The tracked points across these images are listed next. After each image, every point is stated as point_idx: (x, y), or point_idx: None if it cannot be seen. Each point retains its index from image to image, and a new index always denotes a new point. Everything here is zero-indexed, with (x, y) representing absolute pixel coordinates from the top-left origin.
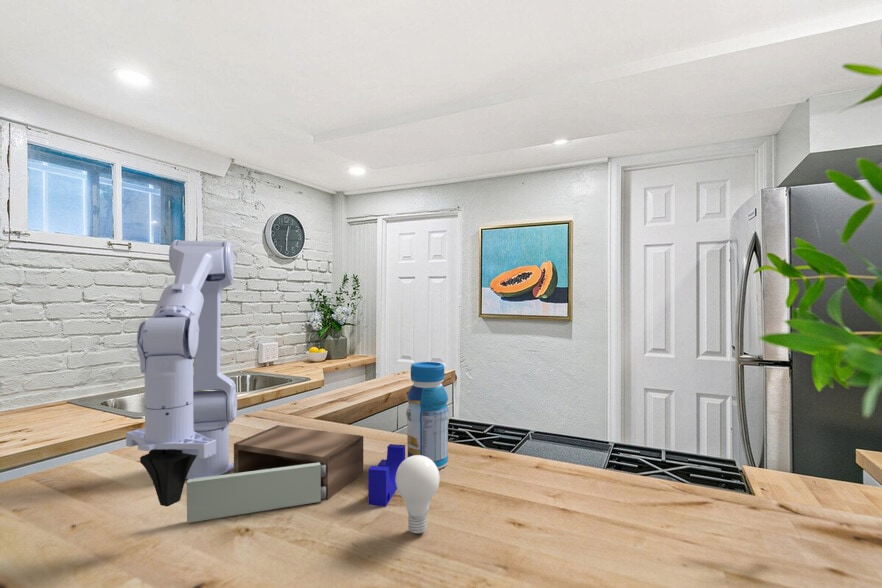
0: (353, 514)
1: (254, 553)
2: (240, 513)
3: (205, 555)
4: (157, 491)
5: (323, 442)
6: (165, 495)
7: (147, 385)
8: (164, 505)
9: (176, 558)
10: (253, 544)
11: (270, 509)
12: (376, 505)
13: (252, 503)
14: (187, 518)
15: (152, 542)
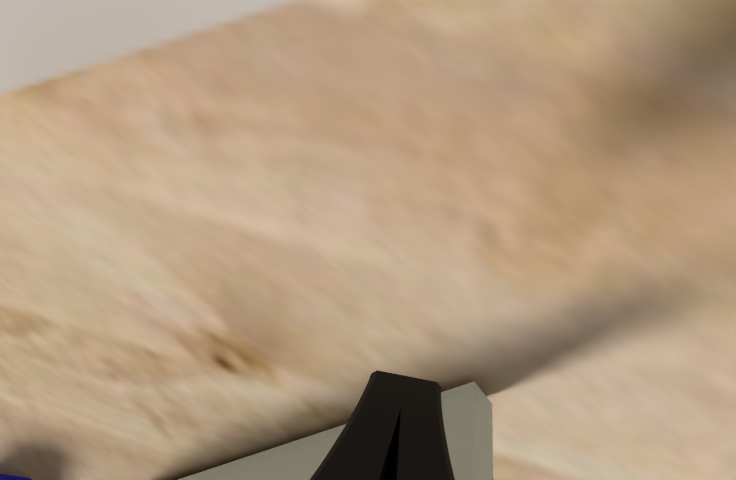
0: (20, 441)
1: (74, 250)
2: (313, 436)
3: (217, 212)
4: (428, 461)
5: None
6: (347, 427)
7: None
8: (399, 377)
9: (308, 174)
10: (126, 293)
11: (243, 458)
12: (9, 475)
13: (273, 474)
14: (470, 396)
15: (522, 256)
